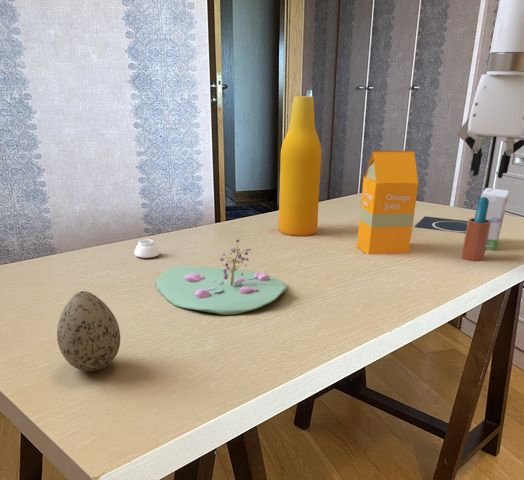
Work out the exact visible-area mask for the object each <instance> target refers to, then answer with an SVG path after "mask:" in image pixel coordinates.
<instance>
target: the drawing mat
mask: <svg viewBox="0 0 524 480" xmlns="http://www.w3.org/2000/svg"><path fill="white" fill-rule="evenodd" d="M467 224H468V220H461V219H452V218H444V217H434V216H426V215H425V216H423V217H422V219H420V220H419V222H417V223H416V224H415V225H414V229H415V228H416V229H425V230H431V231H442V232H450V233H458V234H464V235H465V234H466V229H467Z"/></svg>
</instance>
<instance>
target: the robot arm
mask: <svg viewBox="0 0 524 480" xmlns="http://www.w3.org/2000/svg"><path fill="white" fill-rule="evenodd" d="M469 133H470V134H471V135H470V134H469ZM472 135H474V136H476V138H474V137H473V136H472ZM456 136H457V137H458V138H460V139H461V140H462V141H464V142H465V143H466V145H467V146H468V147H469V148H470V150H471V151H472V153H473V154H472V159H471V164H470V171H473V173H472V176H473V177H477V176H478V175H479V173H480V169H481V164H482V158H483V152H482V151H483V148H482V146H483V144H484V142H485V138H486V137H499V138H506V139H505V150H504V151H503V154H502V155H501V159H500V163H499V168H498V173H497V178H498V179H502V178H503V175H504V174H508V172H509V171H508V170H509V167H510V163H511V162H510V161H511V157H512V155H513V154H514V153H516V152H517V151H518V150H520V149H521V148H523V147H524V137H523V136H524V0H499V2H498V7H497V12H496V17H495V23H494V28H493V35H492V39H491V45H490V50H489V54H488V61H487V64H486V69H485V74H481V76H480V78H479V81H478V84H477V87H476V90H475V94H474V97H473V101H472V105H471V109H470V114H469V117H468V118H467V119H466V120H465V122H464V123H463V124H462V126H461V127H460V128H459V129H458V130H457V132H456ZM519 137H523V138H521V139H518V141H516V142H515V138H519Z"/></svg>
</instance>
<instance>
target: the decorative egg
mask: <svg viewBox="0 0 524 480" xmlns="http://www.w3.org/2000/svg"><path fill="white" fill-rule="evenodd" d="M56 339H57V344H58V345H57V346H58V348H59V352H61V355H62V357H63V358H64V360H66V362H67V363H68V364H69V365H71V366H72V367H74V368H75V369H77V370H80V371H83V372H96V371H97V372H98V371H99V370H103V369H105V368H106V367H107V366H109V365H110V364H111V363H112V362H113V361H114V360H115V358H116V356H117V355H118V352H119V349H120V346H121V331H120V327H119V323H118V320H117V318H116V316H115V315H114V313H113V312H112V310H111V309H110V308H109V306H108V305H107V304H106V303H105V302H104V301H103V300H102V299H101V298H100V297H98V296H97V295H95V294H94V293H92V292H89V291H87V290H82V291H81V290H80V291H78V292H77V293H75V294H74V295H73V296H72V297H71V298H70V300H69V301H68V302H67V303H66V304H65V307H64V308H63V310H62V312H61V313H60V317H59V319H58V324H57V329H56Z"/></svg>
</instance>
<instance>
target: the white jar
mask: <svg viewBox="0 0 524 480" xmlns="http://www.w3.org/2000/svg"><path fill="white" fill-rule="evenodd" d="M137 243H138V244H136V246H135V248H134V251H133V254H134V256H136V257H137V258H141V259H151V258H155V257H157V256H160V254H161V251H160V249H159V247H158V245H157V244H156V243H155V240H153V239H149V238H147V239H146V238H145V239H144V238H143V239H139V240H138V242H137Z"/></svg>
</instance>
